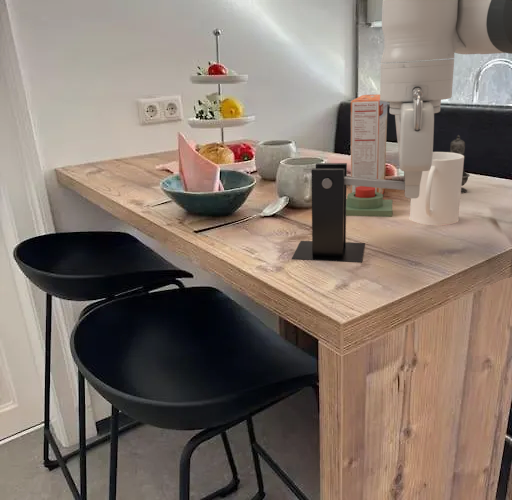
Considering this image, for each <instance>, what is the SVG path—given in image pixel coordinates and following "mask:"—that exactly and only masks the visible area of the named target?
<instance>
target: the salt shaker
mask: <svg viewBox="0 0 512 500" xmlns="http://www.w3.org/2000/svg"><path fill="white" fill-rule="evenodd" d="M465 150H466V142H465V141H464V140H463V139H461V136H460V135H459V134H458V135H457V136H456V138H455V139H453V140H452V141H451V142H450V148H449V152H450V153H457V154H461V155H463V156H464V160H465V159H466V155H465ZM464 165H465V163H464V164H463V175H462V185H461V194H466V193H467V192H468V190H467V189H466V188H465V187H463V186H465V184H467V182H468V181H469V180H468V179H469V177H470V176H471V175H470V173H467V172H466V171H465V169H464V167H465V166H464Z"/></svg>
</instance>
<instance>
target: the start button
mask: <svg viewBox="0 0 512 500" xmlns="http://www.w3.org/2000/svg"><path fill="white" fill-rule="evenodd" d="M355 197H359V198H372V197H375V187H364V186H359V187H356V189H355Z"/></svg>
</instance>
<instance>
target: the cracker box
mask: <svg viewBox="0 0 512 500" xmlns="http://www.w3.org/2000/svg"><path fill="white" fill-rule="evenodd" d="M387 129H388V102H384V101H381V100H380V94H378V93H377V94H362V95H360V96H357V97H356V98H354V99H353V100H350V177H360V178H371V179H382V180H386V170H387V166H386V164H387ZM356 187H359V186H353V185H350V193H352V192H355V189H356ZM385 190H386V188H375V192H379V193H381V194H383V195H384V193H385Z"/></svg>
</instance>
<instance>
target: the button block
mask: <svg viewBox="0 0 512 500" xmlns="http://www.w3.org/2000/svg"><path fill="white" fill-rule="evenodd" d="M346 217H378V218H379V217H381V218H392V217H393V199H384V193H383V194H381V193H379V192H375V197H372V198H359V197H355V192H352V193H351V192H349V193H347V194H346Z"/></svg>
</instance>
